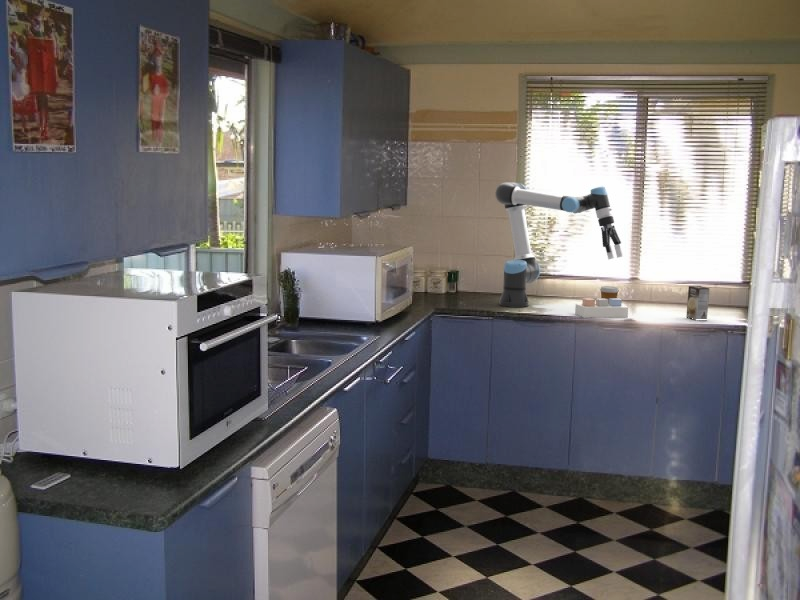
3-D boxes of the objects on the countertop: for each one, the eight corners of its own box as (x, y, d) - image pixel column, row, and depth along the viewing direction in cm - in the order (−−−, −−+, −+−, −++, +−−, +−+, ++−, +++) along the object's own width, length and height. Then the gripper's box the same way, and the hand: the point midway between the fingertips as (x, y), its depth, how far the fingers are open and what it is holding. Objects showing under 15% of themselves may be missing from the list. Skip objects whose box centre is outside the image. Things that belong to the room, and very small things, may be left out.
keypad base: (575, 313, 456) (575, 304, 455) (617, 313, 461) (618, 303, 460) (583, 317, 445) (584, 307, 444) (627, 317, 450) (628, 307, 449)
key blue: (608, 310, 456) (609, 298, 455) (616, 310, 457) (617, 298, 456) (612, 311, 451) (613, 299, 450) (620, 311, 452) (621, 299, 451)
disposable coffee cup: (618, 312, 465) (619, 289, 463) (598, 311, 467) (600, 288, 465) (617, 309, 474) (618, 286, 473) (598, 308, 476) (600, 285, 474)
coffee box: (685, 317, 454) (687, 285, 452) (696, 317, 456) (699, 285, 453) (696, 320, 445) (698, 288, 443) (707, 320, 447) (710, 288, 445)
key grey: (595, 310, 454) (595, 298, 453) (603, 310, 455) (604, 298, 454) (599, 311, 450) (599, 299, 449) (607, 311, 451) (608, 299, 450)
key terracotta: (582, 310, 453) (582, 298, 452) (590, 310, 454) (591, 298, 453) (585, 311, 448) (586, 299, 448) (594, 311, 449) (595, 299, 449)
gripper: (603, 215, 448) (614, 257, 448) (620, 214, 469) (630, 254, 469) (589, 219, 452) (600, 261, 452) (606, 218, 473) (616, 258, 473)
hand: (615, 257), depth 460 cm, fingers open, 13 cm apart
